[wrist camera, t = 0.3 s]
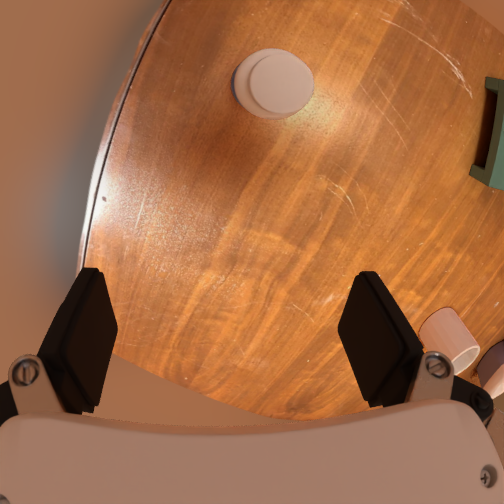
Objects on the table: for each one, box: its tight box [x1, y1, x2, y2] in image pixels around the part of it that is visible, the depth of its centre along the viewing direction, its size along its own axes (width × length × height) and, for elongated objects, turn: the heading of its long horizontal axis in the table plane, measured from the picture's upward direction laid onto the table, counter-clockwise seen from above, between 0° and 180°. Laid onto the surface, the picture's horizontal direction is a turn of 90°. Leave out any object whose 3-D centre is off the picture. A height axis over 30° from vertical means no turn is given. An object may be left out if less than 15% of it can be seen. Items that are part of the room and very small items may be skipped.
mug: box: [419, 307, 480, 375], centre depth 42 cm, size 8×12×10 cm
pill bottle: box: [231, 48, 314, 120], centre depth 20 cm, size 6×5×10 cm
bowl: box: [477, 341, 504, 399], centre depth 54 cm, size 15×15×11 cm
